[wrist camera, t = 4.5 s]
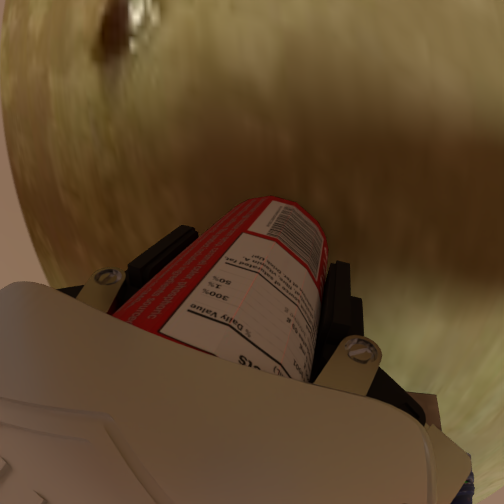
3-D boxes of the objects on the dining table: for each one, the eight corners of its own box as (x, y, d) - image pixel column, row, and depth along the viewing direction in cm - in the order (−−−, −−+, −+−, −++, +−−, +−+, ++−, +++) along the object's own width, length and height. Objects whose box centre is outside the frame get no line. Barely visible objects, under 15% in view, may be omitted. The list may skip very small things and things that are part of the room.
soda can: (214, 273, 16) (74, 451, 6) (232, 179, 14) (-1, 340, 3) (308, 306, 15) (241, 533, 5) (344, 215, 13) (323, 510, 2)
